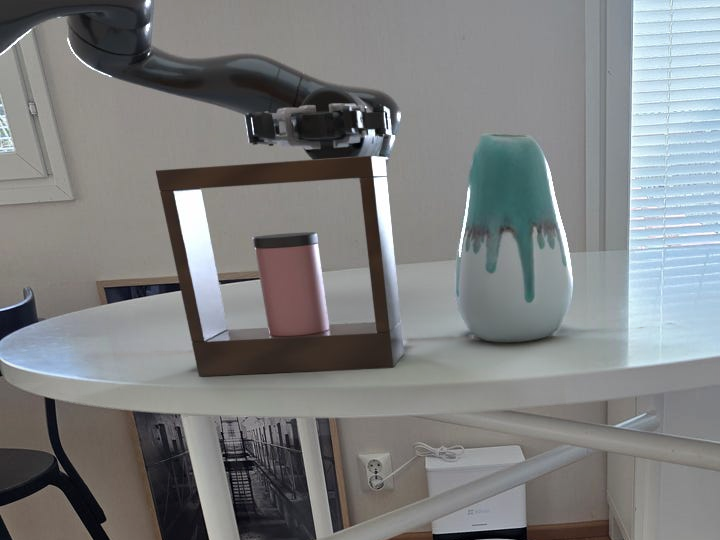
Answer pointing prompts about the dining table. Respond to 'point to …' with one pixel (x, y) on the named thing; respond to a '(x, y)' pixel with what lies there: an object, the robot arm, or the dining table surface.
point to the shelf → (256, 346)
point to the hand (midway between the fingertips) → (303, 122)
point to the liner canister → (292, 283)
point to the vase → (511, 244)
